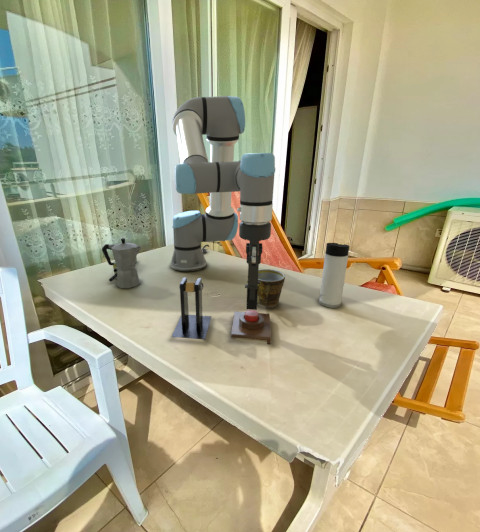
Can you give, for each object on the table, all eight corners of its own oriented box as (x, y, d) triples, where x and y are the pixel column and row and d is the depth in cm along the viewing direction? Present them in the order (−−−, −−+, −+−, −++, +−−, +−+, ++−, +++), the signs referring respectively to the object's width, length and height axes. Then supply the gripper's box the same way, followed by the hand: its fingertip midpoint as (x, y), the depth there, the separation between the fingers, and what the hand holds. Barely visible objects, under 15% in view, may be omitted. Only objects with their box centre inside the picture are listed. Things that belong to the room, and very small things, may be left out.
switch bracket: (181, 317, 91) (179, 271, 86) (211, 319, 89) (211, 273, 84) (171, 340, 80) (167, 289, 75) (205, 343, 78) (203, 291, 73)
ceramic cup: (258, 294, 104) (259, 267, 100) (287, 301, 98) (289, 272, 95) (241, 310, 94) (242, 280, 91) (272, 318, 89) (274, 287, 85)
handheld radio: (138, 261, 140) (115, 283, 117) (131, 261, 141) (107, 283, 118) (136, 247, 138) (112, 267, 115) (129, 248, 138) (104, 267, 115)
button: (245, 315, 84) (245, 309, 83) (258, 315, 83) (258, 310, 83) (244, 321, 81) (244, 316, 80) (258, 322, 80) (258, 316, 79)
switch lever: (193, 291, 92) (193, 280, 92) (204, 292, 91) (204, 280, 91) (183, 293, 79) (183, 280, 79) (196, 294, 78) (196, 281, 78)
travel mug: (315, 304, 96) (322, 243, 89) (323, 297, 100) (331, 238, 93) (336, 310, 92) (345, 247, 85) (343, 302, 96) (353, 242, 89)
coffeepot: (148, 279, 120) (144, 235, 113) (140, 289, 111) (135, 242, 105) (112, 278, 122) (106, 234, 116) (101, 287, 114) (94, 241, 107)
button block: (234, 317, 90) (234, 305, 88) (269, 320, 88) (269, 308, 86) (231, 341, 79) (231, 328, 77) (270, 344, 77) (271, 331, 75)
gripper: (240, 215, 79) (238, 296, 88) (237, 227, 67) (235, 319, 76) (270, 215, 78) (265, 298, 86) (272, 228, 66) (266, 322, 74)
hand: (251, 308), depth 81 cm, fingers closed
